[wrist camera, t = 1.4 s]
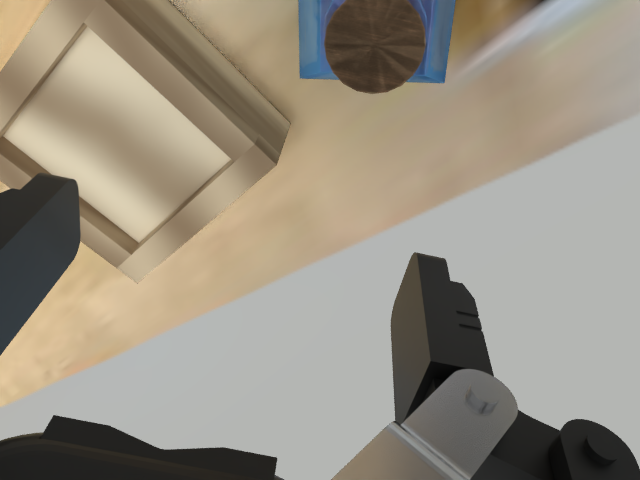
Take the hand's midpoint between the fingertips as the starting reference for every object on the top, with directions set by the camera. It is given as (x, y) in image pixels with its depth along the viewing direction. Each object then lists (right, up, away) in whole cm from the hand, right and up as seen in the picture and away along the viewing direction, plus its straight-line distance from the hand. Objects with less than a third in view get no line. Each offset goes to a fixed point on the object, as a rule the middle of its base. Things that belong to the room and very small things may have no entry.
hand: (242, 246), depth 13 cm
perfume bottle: (+5, +13, +14) cm, 20 cm away
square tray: (-8, +7, +19) cm, 22 cm away
